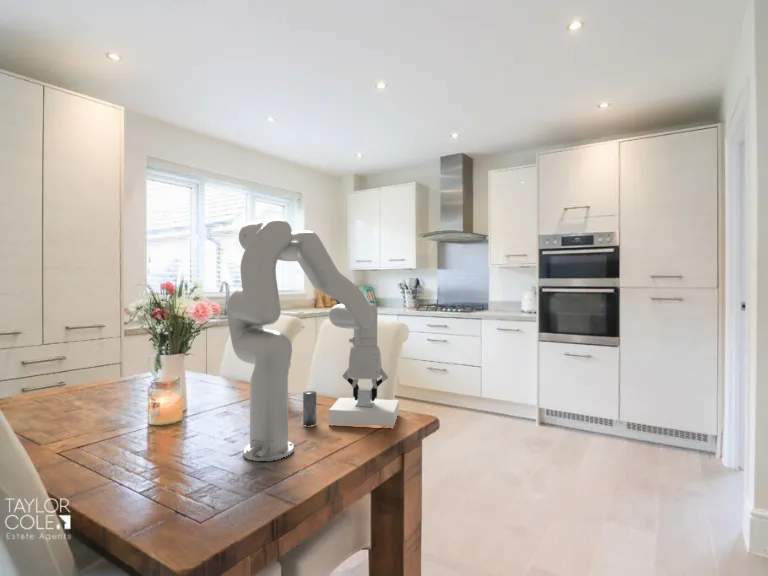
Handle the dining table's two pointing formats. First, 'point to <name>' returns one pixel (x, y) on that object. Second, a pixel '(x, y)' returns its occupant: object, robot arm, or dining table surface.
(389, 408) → the block
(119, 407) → the dining table surface
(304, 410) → the round peg
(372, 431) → the dining table surface
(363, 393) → the square peg
